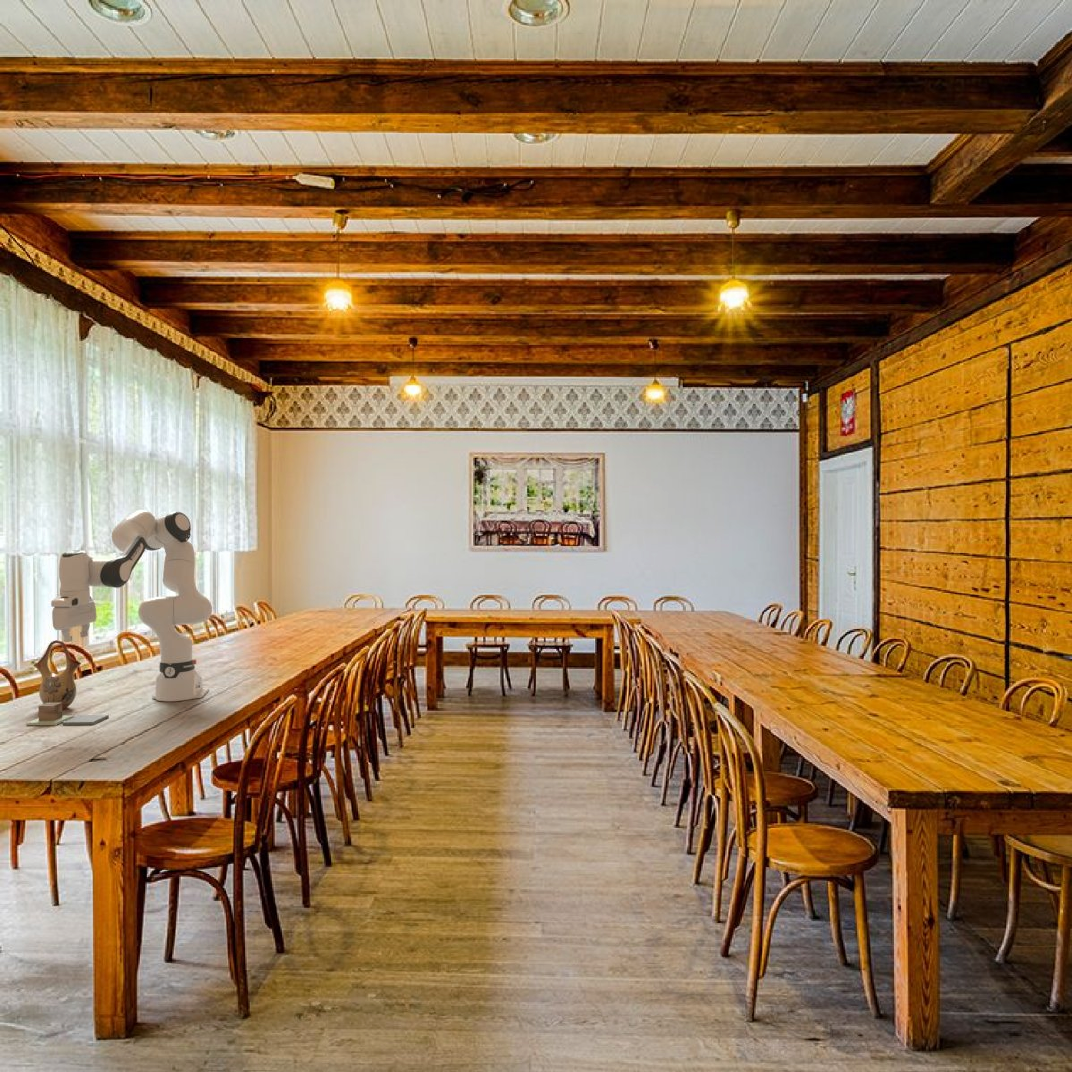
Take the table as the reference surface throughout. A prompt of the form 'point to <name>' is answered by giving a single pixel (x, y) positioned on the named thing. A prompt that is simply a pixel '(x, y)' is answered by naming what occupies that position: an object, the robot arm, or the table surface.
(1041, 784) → the table surface
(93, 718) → the pad
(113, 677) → the table surface
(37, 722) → the pad
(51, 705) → the walnut block
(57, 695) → the ceramic vessel
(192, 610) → the robot arm
